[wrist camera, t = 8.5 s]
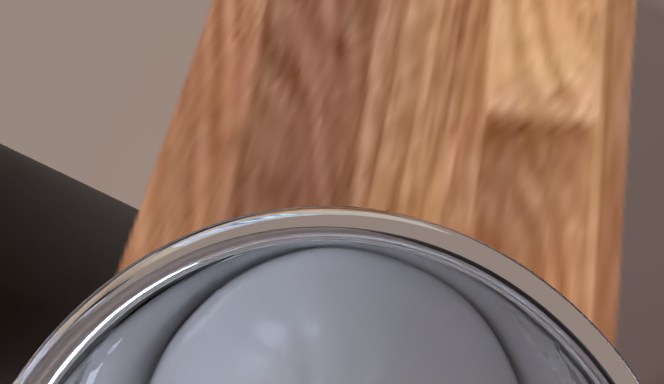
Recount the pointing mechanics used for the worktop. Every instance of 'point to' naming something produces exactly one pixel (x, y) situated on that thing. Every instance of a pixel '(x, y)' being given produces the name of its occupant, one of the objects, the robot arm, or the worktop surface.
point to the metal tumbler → (326, 311)
